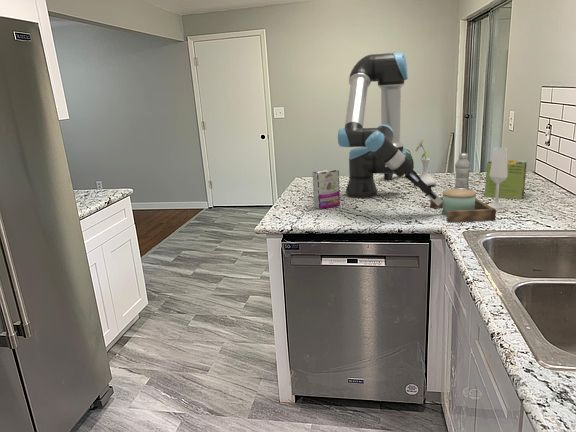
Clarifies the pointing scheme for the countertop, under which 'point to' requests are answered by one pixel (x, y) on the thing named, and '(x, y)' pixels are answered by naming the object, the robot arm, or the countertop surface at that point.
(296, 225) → the countertop surface
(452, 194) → the green canister
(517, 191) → the protein box
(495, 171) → the champagne flute
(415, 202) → the countertop surface
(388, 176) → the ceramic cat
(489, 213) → the walnut bay
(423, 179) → the flower in vase
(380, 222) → the countertop surface
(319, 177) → the candy bar box
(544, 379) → the countertop surface
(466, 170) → the plastic bottle
